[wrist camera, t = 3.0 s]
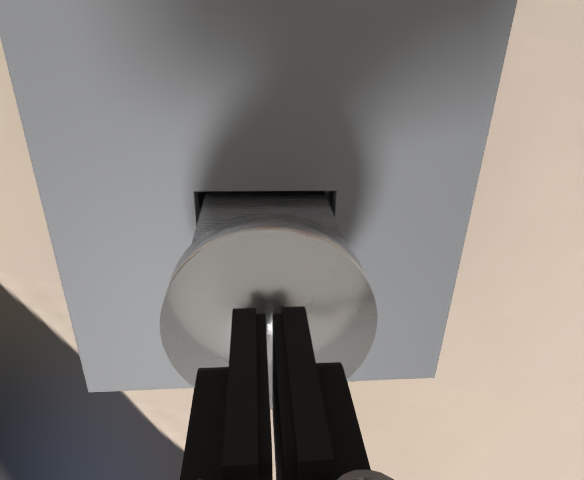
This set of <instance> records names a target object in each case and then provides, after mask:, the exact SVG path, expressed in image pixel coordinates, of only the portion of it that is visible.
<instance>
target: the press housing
mask: <svg viewBox="0 0 584 480" xmlns="http://www.w3.org/2000/svg"><path fill="white" fill-rule="evenodd" d="M516 4H517V0H0V37H1V41H2V45H3V49H4V53H5V57H6V61H7V65H8V69H9V74H10V78H11V82H12V86H13V90H14V94H15V98H16V102H17V106H18V110H19V114H20V118H21V122H22V126H23V130H24V134H25V138H26V142H27V146H28V150H29V154H30V158H31V162H32V166H33V170H34V174H35V178H36V182H37V186H38V190H39V194H40V198H41V202H42V206H43V210H44V214H45V218H46V222H47V226H48V230H49V234H50V238H51V242H52V246H53V251H54V255H55V259H56V263H57V267H58V271H59V275H60V279H61V283H62V287H63V291H64V295H65V299H66V303H67V307H68V311H69V315H70V319H71V323H72V327H73V331H74V335H75V339H76V343H77V347H78V351H79V355H80V359H81V363H82V367H83V371H84V375H85V379H86V383H87V387H88V391H89V392H105V391H129V390H153V389H176V388H194V387H193V386H191V385H190V384H189V383H188V382H187V381H186V380H185V379H184V378H182V377H181V376H180V374H179V373H178V372H177V371H176V369H175V368H174V367H173V365H172V364H171V362H170V360H169V359H168V357H167V355H166V352H165V350H164V347H163V344H162V340H161V335H160V314H161V308H162V305H163V301H164V298H165V295H166V292H167V289H168V285H169V282H170V279H171V276H172V273H173V271H174V269H175V267H176V265H177V262H178V261H179V259H180V258H181V256H182V255H183V253H184V252H185V251H186V250H187V249H188V247H189V246H190V245H191V244H192V240H193V236H194V233H195V229H196V226H197V222H198V219H199V215H200V212H201V208H202V205H203V201H204V198H205V194H206V191H324V193H325V195H326V198H327V200H328V202H329V205H330V207H331V209H332V212H333V214H334V217H335V219H336V221H337V224H338V226H339V228H340V231H341V233H342V236H343V238H344V241H345V243H346V244H347V245H348V246H349V247H350V248H351V249H352V251H353V252H354V254H355V255H356V257H357V258H358V260H359V263H360V265H361V267H362V269H363V271H364V274H365V276H366V278H367V280H368V283H369V285H370V287H371V289H372V291H373V294H374V298H375V301H376V306H377V315H378V317H377V329H376V334H375V338H374V341H373V344H372V346H371V349H370V351H369V353H368V355H367V356H366V358H365V360H364V361H363V363H362V364H361V365H360V367H359V368H358V369H357V370H356V371H355V372H354V373H353V374H352V376H351V377H350V378H348V379H347V381H366V380H390V379H414V378H435V373H436V369H437V364H438V360H439V355H440V350H441V346H442V341H443V337H444V332H445V328H446V323H447V319H448V314H449V309H450V305H451V300H452V296H453V291H454V287H455V282H456V277H457V273H458V268H459V264H460V259H461V255H462V250H463V246H464V241H465V236H466V232H467V227H468V223H469V218H470V214H471V209H472V204H473V200H474V195H475V191H476V186H477V182H478V177H479V173H480V168H481V163H482V159H483V154H484V150H485V145H486V141H487V136H488V131H489V127H490V122H491V118H492V113H493V109H494V104H495V100H496V95H497V90H498V86H499V81H500V77H501V72H502V68H503V63H504V58H505V54H506V49H507V45H508V40H509V36H510V31H511V27H512V22H513V17H514V13H515V8H516Z"/></svg>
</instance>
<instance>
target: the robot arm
mask: <svg viewBox="0 0 584 480" xmlns="http://www.w3.org/2000/svg"><path fill="white" fill-rule="evenodd" d="M272 404H273V426H274V445H275V463H276V480H394V479H392V478H390V477H388V476H386V475H384V474H382V473H381V472H376V471H372V470H371V469H370V465H369V462H368V458H367V454H366V450H365V447H364V443H363V439H362V435H361V432H360V428H359V424H358V420H357V417H356V413H355V409H354V405H353V402H352V398H351V394H350V391H349V387H348V383H347V379H346V376H345V372H344V368H343V366H342V364H341V362H332V363H316V361H315V356H314V350H313V345H312V340H311V335H310V329H309V324H308V319H307V314H306V309H305V306H298V307H282V308H281V313H273V350H272ZM180 480H272V442H271V421H270V400H269V379H268V358H267V337H266V316H265V314H256V308H233V310H232V325H231V340H230V355H229V367H211V368H198V371H197V375H196V381H195V388H194V394H193V400H192V407H191V413H190V419H189V426H188V432H187V438H186V445H185V451H184V458H183V464H182V471H181V477H180Z"/></svg>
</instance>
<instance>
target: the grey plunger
mask: <svg viewBox="0 0 584 480" xmlns="http://www.w3.org/2000/svg"><path fill="white" fill-rule="evenodd" d="M298 306H305V309H306V314H307V319H308V324H309V329H310V335H311V340H312V345H313V350H314V356H315V361H316V363H332V362H341V364H342V366H343V368H344V372H345V376H346V379H348V378H350V377H351V376H352V374H353V373H354V372H355V371H356V370H357V369H358V368H359V367H360V365H361V364H362V363H363V361H364V360H365V358H366V356H367V355H368V353H369V351H370V349H371V346H372V344H373V341H374V338H375V334H376V329H377V317H378V315H377V306H376V301H375V298H374V294H373V291H372V289H371V287H370V285H369V283H368V280H367V278H366V276H365V274H364V271H363V269H362V267H361V265H360V263H359V260H358V258H357V257H356V255H355V254H354V252H353V251H352V249H351V248H350V247H349V246H348V245H347V244H346V243H345V241H344V238H343V236H342V233H341V231H340V228H339V226H338V224H337V221H336V219H335V217H334V214H333V212H332V209H331V207H330V205H329V202H328V200H327V198H326V195H325V193H324V191H206V194H205V198H204V201H203V205H202V208H201V212H200V215H199V219H198V222H197V226H196V229H195V233H194V236H193V240H192V244H191V245H190V246H189V247H188V249H187V250H186V251H185V252H184V253H183V255H182V256H181V258H180V259H179V261H178V262H177V265H176V267H175V269H174V271H173V273H172V276H171V279H170V282H169V285H168V289H167V292H166V295H165V298H164V301H163V305H162V308H161V314H160V335H161V340H162V344H163V347H164V350H165V352H166V355H167V357H168V359H169V360H170V362H171V364H172V365H173V367H174V368H175V369H176V371H177V372H178V373H179V374H180V376H181V377H182V378H184V379H185V380H186V381H187V382H188V383H189V384H190V385H191V386H193V387H194V388H195V381H196V375H197V371H198V368H211V367H229V355H230V340H231V325H232V310H233V308H256V314H265V316H266V337H267V358H268V379H269V400H270V409H273V404H272V350H273V313H281V308H282V307H298Z"/></svg>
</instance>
